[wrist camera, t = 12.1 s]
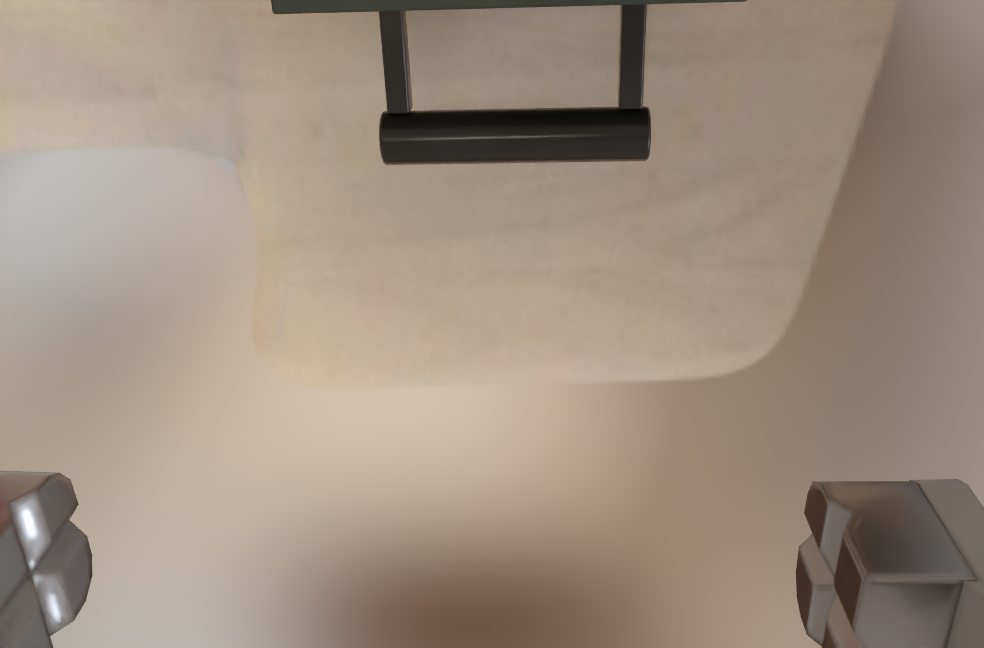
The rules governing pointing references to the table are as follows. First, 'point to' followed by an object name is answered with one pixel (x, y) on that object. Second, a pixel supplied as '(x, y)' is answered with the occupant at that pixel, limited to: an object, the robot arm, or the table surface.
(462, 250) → the table surface
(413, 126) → the drawer
